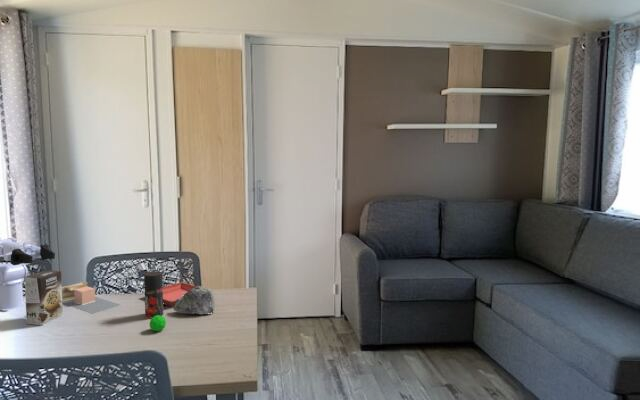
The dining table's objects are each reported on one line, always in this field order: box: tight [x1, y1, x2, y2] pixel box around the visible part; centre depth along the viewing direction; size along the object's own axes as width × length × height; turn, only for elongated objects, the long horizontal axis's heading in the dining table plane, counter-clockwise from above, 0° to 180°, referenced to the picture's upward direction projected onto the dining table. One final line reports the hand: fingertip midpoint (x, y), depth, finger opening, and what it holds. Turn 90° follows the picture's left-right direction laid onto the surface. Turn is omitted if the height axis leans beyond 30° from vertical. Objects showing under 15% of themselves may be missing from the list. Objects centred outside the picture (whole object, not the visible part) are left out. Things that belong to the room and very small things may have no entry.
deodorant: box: [143, 270, 164, 319], centre depth 154 cm, size 6×6×15 cm
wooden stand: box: [62, 281, 88, 302], centre depth 169 cm, size 6×11×5 cm, turn 149°
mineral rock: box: [172, 285, 216, 315], centre depth 157 cm, size 13×11×10 cm
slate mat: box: [62, 296, 121, 315], centre depth 165 cm, size 25×11×1 cm, turn 59°
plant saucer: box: [143, 282, 197, 307], centre depth 173 cm, size 18×18×3 cm
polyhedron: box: [149, 315, 167, 332], centre depth 141 cm, size 5×5×5 cm
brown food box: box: [24, 270, 64, 326], centre depth 148 cm, size 9×6×16 cm
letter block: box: [74, 285, 96, 305], centre depth 165 cm, size 5×5×5 cm
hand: (42, 257), depth 150 cm, fingers open, 7 cm apart
